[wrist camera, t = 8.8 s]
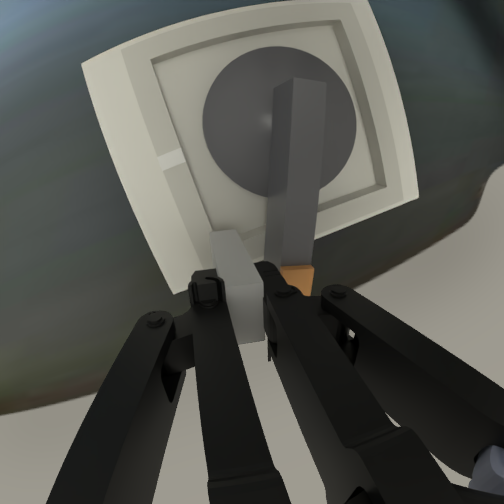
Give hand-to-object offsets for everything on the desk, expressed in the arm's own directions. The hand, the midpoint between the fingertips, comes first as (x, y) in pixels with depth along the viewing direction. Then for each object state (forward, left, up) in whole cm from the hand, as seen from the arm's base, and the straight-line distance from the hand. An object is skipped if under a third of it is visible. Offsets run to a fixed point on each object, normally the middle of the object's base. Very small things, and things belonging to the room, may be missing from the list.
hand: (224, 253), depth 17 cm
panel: (-6, -6, -5) cm, 10 cm away
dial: (-5, -4, -3) cm, 7 cm away
